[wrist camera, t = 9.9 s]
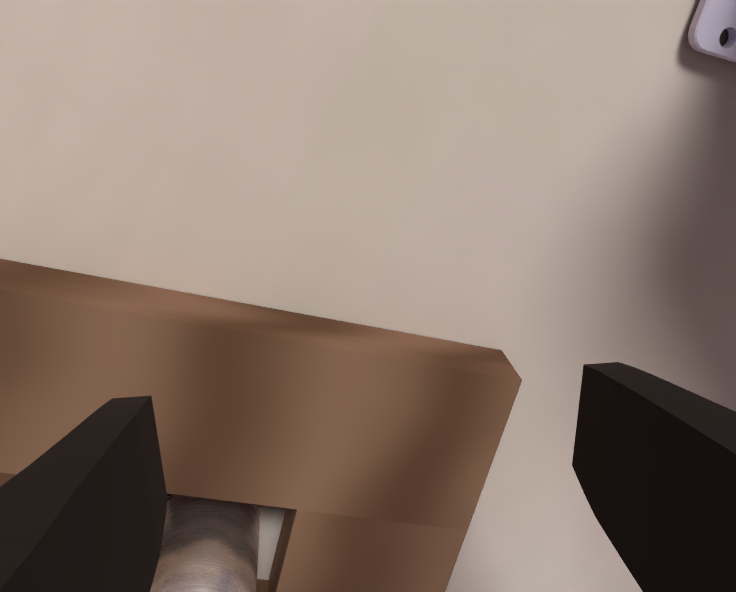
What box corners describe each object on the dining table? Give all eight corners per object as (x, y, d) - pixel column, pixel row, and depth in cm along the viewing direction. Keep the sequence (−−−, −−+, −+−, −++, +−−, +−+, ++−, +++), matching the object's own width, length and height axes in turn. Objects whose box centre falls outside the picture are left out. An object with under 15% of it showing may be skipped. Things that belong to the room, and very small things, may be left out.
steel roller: (255, 472, 22) (245, 619, 17) (263, 548, 23) (257, 708, 18) (157, 482, 22) (114, 634, 16) (171, 558, 23) (135, 724, 18)
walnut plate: (501, 350, 22) (521, 380, 20) (379, 702, 27) (386, 751, 25) (-32, 253, 19) (-67, 277, 17) (-52, 671, 24) (-80, 725, 22)
